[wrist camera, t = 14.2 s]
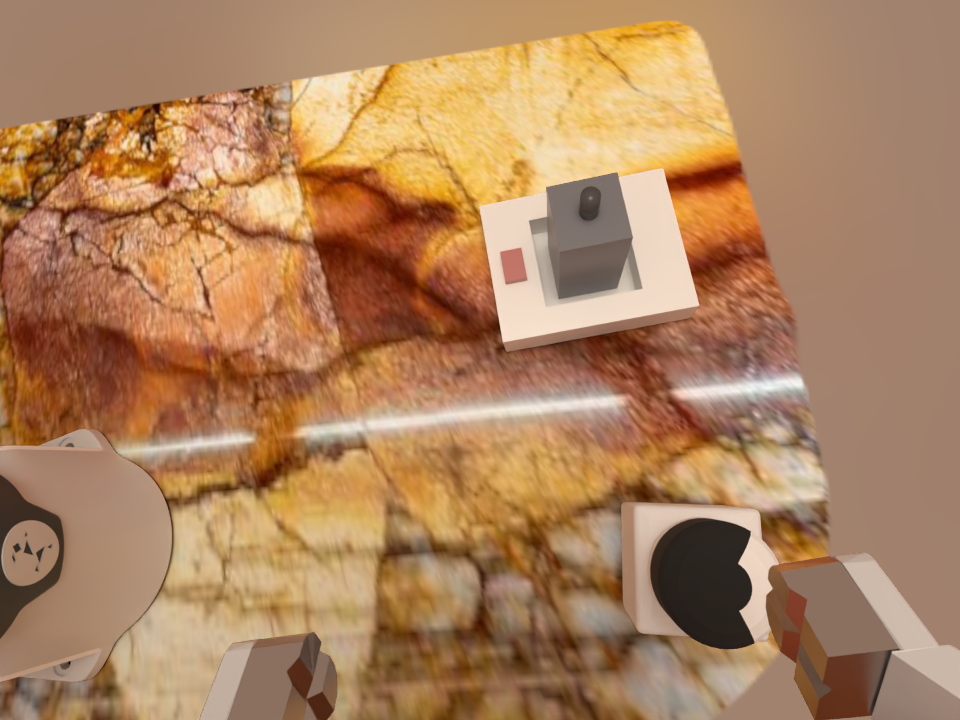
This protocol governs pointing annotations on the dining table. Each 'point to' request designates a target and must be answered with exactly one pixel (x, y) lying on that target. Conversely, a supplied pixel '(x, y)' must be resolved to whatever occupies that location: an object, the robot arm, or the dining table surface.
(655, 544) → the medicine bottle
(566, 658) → the dining table surface
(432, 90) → the dining table surface
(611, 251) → the plug
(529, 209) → the socket
